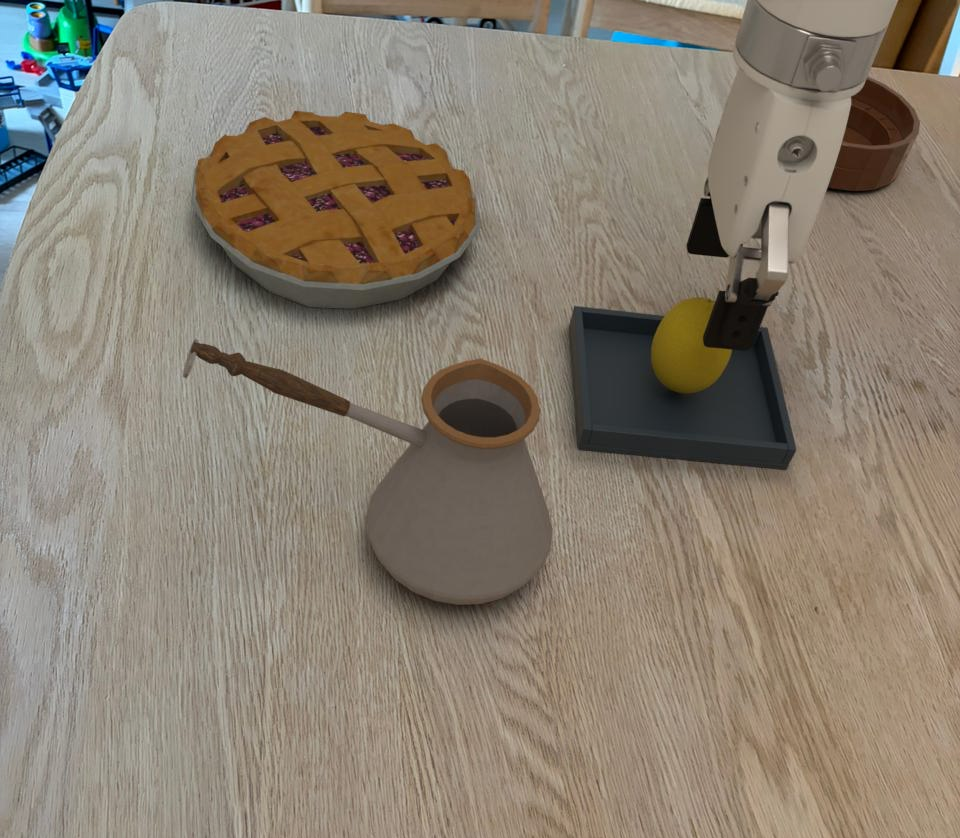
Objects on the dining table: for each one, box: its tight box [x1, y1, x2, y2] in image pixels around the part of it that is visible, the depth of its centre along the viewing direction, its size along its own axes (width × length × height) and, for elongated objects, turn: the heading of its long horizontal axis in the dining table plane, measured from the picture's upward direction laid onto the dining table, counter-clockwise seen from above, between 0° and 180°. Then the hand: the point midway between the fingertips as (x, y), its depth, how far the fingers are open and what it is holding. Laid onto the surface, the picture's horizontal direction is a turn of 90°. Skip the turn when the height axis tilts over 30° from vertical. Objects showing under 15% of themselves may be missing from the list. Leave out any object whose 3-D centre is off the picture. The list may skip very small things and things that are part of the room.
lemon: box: [651, 296, 732, 394], centre depth 75 cm, size 6×6×8 cm
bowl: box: [828, 75, 921, 192], centre depth 100 cm, size 14×14×4 cm
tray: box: [568, 305, 797, 471], centre depth 78 cm, size 15×13×2 cm
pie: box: [190, 110, 481, 310], centre depth 83 cm, size 22×22×5 cm
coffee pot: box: [182, 338, 553, 606], centre depth 61 cm, size 21×12×15 cm, turn 91°
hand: (716, 298), depth 72 cm, fingers open, 9 cm apart
